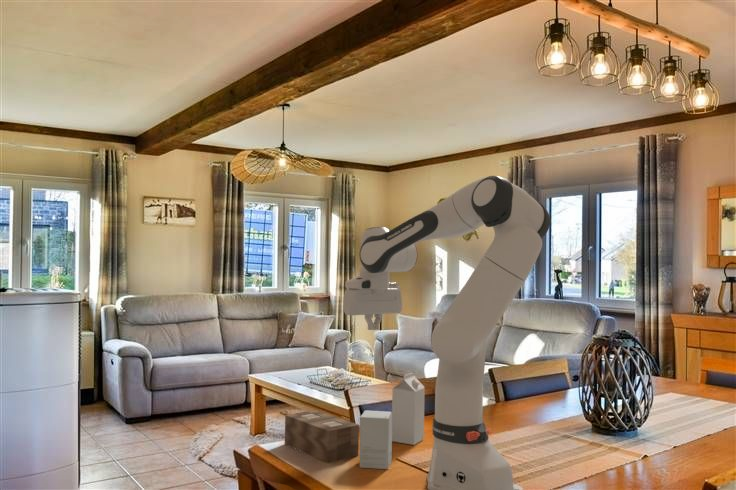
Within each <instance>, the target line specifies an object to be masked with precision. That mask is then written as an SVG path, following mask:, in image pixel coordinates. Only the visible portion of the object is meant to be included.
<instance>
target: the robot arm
mask: <svg viewBox="0 0 736 490" xmlns="http://www.w3.org/2000/svg"><path fill="white" fill-rule="evenodd" d="M484 225H485V227H487V228H493V231H494V237H493V240H492V242H491V244H490V246H489V247H488V248H487V249H486V251H485V253H484V254H483V255H482V257H481V259H480V261H479V262H478V264H477V265H476V267H475V268H474V269H473V272H472V273H471V274H470V276H469V278H468V280H466V283H465V284H464V286H463V287H462V288H461V290H459V292H458V294H457V295H456V296H455V297H454V299H453V301H452V302H451V303H450V304H449V306H448V307H447V309H446V310H445V312H444V313H443V315H442V316H441V318H440V319H439V321H437V323H436V325H435V326H434V328H433V329H432V330H433V331H432V332H431V333H432V334H431V338H430V339H431V340H430V343H431V348H432V349H431V350H432V351H433V353H434V355H435V356H436V357H437V359H438V366H437V367H438V368H437V374H436V375H437V376H436V380H435V387H434V388H435V389H434V394H435V396H434V418H433V420H432V426H431V427H432V435H433V444H432V445H433V446H432V452H431V461H430V465H429V470H428V474H427V476H426V481H427V487H426V488H427V490H524V488H523V486H520V485H519V484H516V483H514V477H513V470H512V466H511V464H510V462H509V461H508V460H507V459H506V458H505V457H504V456H503V455H502V453H500V451H499V450H498V449H497V448H496V447H495V446H494V445H493V444H492V442H490V440H489V434H492V433H493V432H492V430H493V428H492V427H489V428H486V425H485V422H484V421H483V408H484V407H483V405H484V404H483V400H484V399H483V398H484V397H483V396H484V394H483V393H484V380H485V379H484V377H485V367H486V366H485V365H486V352H487V351H486V350H487V347H486V346H487V339H488V337H490V335H491V333H492V331H493V330H494V329H495V327H496V325H497V324H498V323H499V321H500V320H501V319H502V317H503V316H504V314H505V313H506V311H507V310H508V308H509V307H510V305H511V303H512V302H513V301H514V299H515V297H516V296H517V294H518V292H519V291H520V290H521V288H522V287H523V285H524V283H525V282H526V280H527V279H528V277H529V275H530V274H531V272H532V270H533V268H534V266H535V264H536V262H537V259H538V257H540V256H539V255H540V253H541V251H542V248H543V238H544V237H545V236H546V235H547V233H548V232H549V229H550V226H551V216H550V213H549V211H548V210H547V208H546V207H545V206H544V205H543V204H542V203H540V202H539V201H537V200H536V199H535V198H534V197H533V196H532V195H530V194H529V193H528V192H527V191H526V190H525V189H523V188H522V187H519V186H518V185H516V184H514V183H512V182H510V180H509V179H506V178H504V177H501V176H498V175H489V176H486V177H482V178H479V179H477V180H474V181H472V182H471V183H468V184H467V185H464V186H462V187H461V188H459V189H458V190H456V191H455V192H454V193H452V194H450V195H449V196H447V197H446V198H445V199H443V200H441V201H440V202H438V203H436V204H435V205H433V206H432V207H430V208H428V209H426V210H425V211H423V212H421V213H419V214H417V215H415V216H413V217H412V218H409V219H408V220H406V221H404V222H402V223H400V224H399V225H397V226H395V227H394V228H392V229H391V230H389V228H388V227H384V226H376V227H373V226H372V227H369V228H366V229H365V230H363V232H362V235H361V237H360V246H359V255H358V256H359V260H360V269H359V275H358V276H356V277H353V278H351V279H348V280H346V281H345V282H344V283H345V284H344V285H345V288H346V290H345V292H344V295H343V306H342V308H343V313H344V314H345V315H347V316H364V320H365V322H366V323H367V330H368V331H377V330H380V324H381V321H382V320H383V315H388V314H390V315H391V314H401V312H402V310H403V301H402V300H403V299H402V292H401V286H400V285H399V284H398V283H397V282H390V273H403V272H409V271H411V270H413V268H414V267H415V265H416V264H417V262H418V258H419V254H418V249H417V246H416V244H418V243H420V242H423V241H428V240H438V239H442V240H443V239H455V238H456V239H457V238H460V237H463V236H465V235H468V234H471V233H473V232H474V231H476V230H477V229H479V228H480V227H483V226H484ZM373 318H375V319H374V320H373Z"/></svg>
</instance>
